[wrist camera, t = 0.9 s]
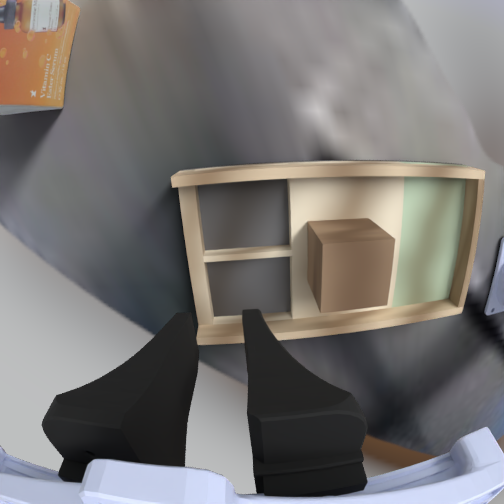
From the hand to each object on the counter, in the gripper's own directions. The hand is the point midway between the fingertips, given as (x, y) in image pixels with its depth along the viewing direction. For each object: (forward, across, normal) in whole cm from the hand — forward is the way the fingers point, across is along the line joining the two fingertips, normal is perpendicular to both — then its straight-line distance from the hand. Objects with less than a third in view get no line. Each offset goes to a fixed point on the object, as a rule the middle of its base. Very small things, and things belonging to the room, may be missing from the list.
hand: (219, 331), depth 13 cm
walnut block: (+8, -7, 0) cm, 10 cm away
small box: (+10, +12, -16) cm, 22 cm away
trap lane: (+9, -8, 0) cm, 12 cm away
